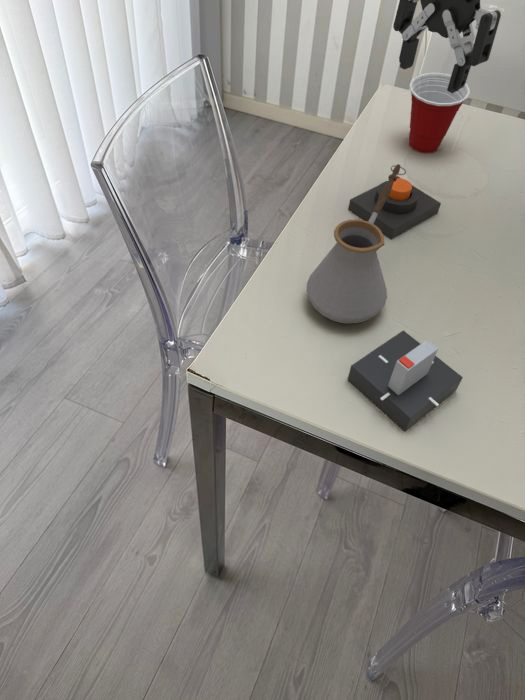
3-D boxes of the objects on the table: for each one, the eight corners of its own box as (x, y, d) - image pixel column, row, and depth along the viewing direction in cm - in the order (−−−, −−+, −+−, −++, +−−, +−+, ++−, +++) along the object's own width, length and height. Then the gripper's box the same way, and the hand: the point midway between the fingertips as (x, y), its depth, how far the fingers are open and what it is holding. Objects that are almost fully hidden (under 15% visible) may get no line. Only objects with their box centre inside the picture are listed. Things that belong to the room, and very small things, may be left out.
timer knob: (416, 365, 72) (427, 338, 68) (427, 373, 71) (439, 347, 67) (387, 386, 70) (397, 359, 66) (398, 395, 69) (408, 369, 65)
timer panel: (398, 344, 78) (403, 329, 76) (461, 395, 73) (469, 380, 71) (342, 382, 74) (346, 367, 71) (405, 440, 68) (411, 426, 66)
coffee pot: (366, 345, 78) (390, 262, 66) (291, 315, 81) (301, 230, 69) (413, 256, 90) (440, 173, 79) (346, 233, 93) (363, 150, 82)
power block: (394, 186, 103) (399, 166, 100) (437, 213, 98) (444, 194, 95) (347, 210, 98) (351, 190, 94) (390, 240, 93) (396, 220, 90)
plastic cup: (386, 148, 111) (400, 87, 102) (409, 126, 117) (425, 66, 108) (437, 167, 107) (456, 106, 98) (459, 144, 113) (479, 84, 104)
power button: (396, 184, 97) (399, 175, 95) (414, 195, 95) (417, 186, 94) (380, 192, 95) (382, 183, 94) (398, 203, 93) (401, 194, 92)
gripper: (399, -70, 69) (373, 67, 81) (497, -36, 62) (453, 107, 75) (438, -79, 72) (407, 54, 85) (535, -48, 65) (486, 91, 78)
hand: (429, 78), depth 80 cm, fingers open, 8 cm apart
